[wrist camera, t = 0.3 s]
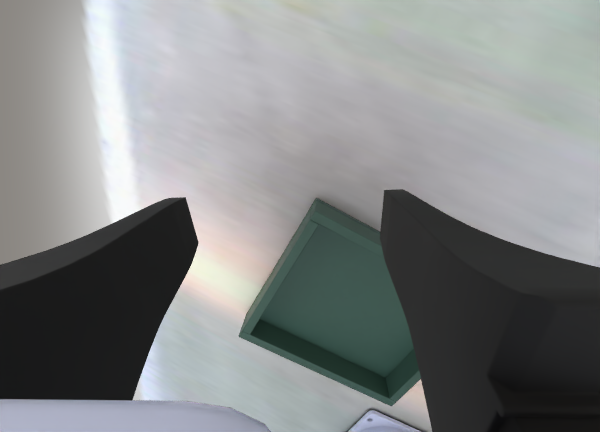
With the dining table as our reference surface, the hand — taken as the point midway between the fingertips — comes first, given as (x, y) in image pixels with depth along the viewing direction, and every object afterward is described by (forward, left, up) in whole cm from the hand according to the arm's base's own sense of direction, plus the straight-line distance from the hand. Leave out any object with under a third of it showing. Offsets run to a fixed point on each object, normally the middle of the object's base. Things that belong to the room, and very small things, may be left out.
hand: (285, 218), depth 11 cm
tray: (-8, -9, -10) cm, 16 cm away
